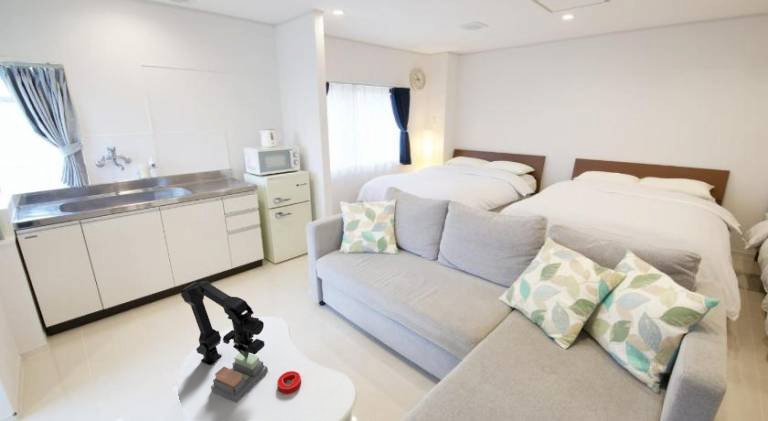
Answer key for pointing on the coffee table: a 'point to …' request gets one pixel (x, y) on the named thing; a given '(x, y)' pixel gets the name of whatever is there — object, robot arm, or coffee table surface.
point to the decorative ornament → (286, 377)
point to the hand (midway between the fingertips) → (246, 357)
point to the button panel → (244, 386)
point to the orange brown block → (228, 377)
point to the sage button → (247, 361)
